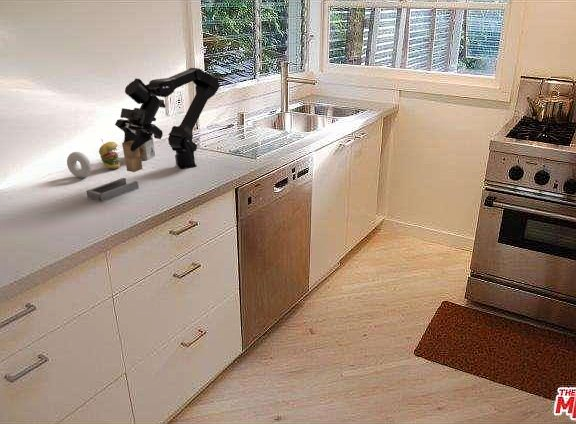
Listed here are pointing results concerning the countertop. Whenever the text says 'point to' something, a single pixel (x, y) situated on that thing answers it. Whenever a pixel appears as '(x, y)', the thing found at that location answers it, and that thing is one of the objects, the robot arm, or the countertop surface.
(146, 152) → the coffee box
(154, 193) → the countertop surface
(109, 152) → the hamburger
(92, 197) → the grey tray
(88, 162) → the donut
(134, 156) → the brown wooden block
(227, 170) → the countertop surface
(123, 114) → the robot arm
